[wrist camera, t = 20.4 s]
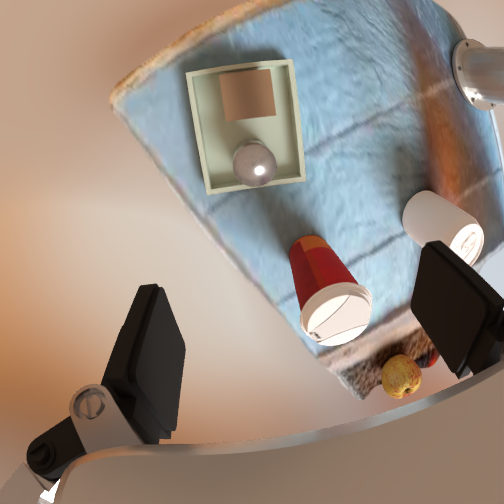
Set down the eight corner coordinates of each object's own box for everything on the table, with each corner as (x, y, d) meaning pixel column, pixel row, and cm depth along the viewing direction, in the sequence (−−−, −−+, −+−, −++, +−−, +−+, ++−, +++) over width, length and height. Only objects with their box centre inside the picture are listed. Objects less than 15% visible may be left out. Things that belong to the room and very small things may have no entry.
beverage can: (391, 213, 39) (436, 251, 29) (426, 178, 37) (477, 207, 26) (414, 245, 42) (454, 286, 32) (445, 213, 40) (490, 246, 29)
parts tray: (288, 62, 29) (292, 59, 27) (301, 176, 36) (305, 181, 34) (189, 75, 29) (185, 72, 27) (208, 189, 36) (206, 195, 34)
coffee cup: (299, 285, 44) (323, 358, 31) (270, 248, 41) (287, 320, 28) (345, 256, 42) (386, 322, 29) (319, 215, 39) (361, 275, 26)
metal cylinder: (267, 136, 33) (274, 142, 28) (271, 171, 35) (278, 184, 30) (230, 141, 33) (229, 148, 28) (235, 176, 35) (236, 190, 30)
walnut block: (263, 75, 29) (270, 68, 24) (269, 114, 31) (276, 115, 26) (221, 80, 29) (218, 74, 24) (227, 119, 32) (226, 121, 26)
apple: (390, 375, 60) (404, 406, 51) (367, 369, 57) (382, 404, 49) (416, 351, 56) (433, 382, 48) (395, 343, 54) (414, 377, 45)
